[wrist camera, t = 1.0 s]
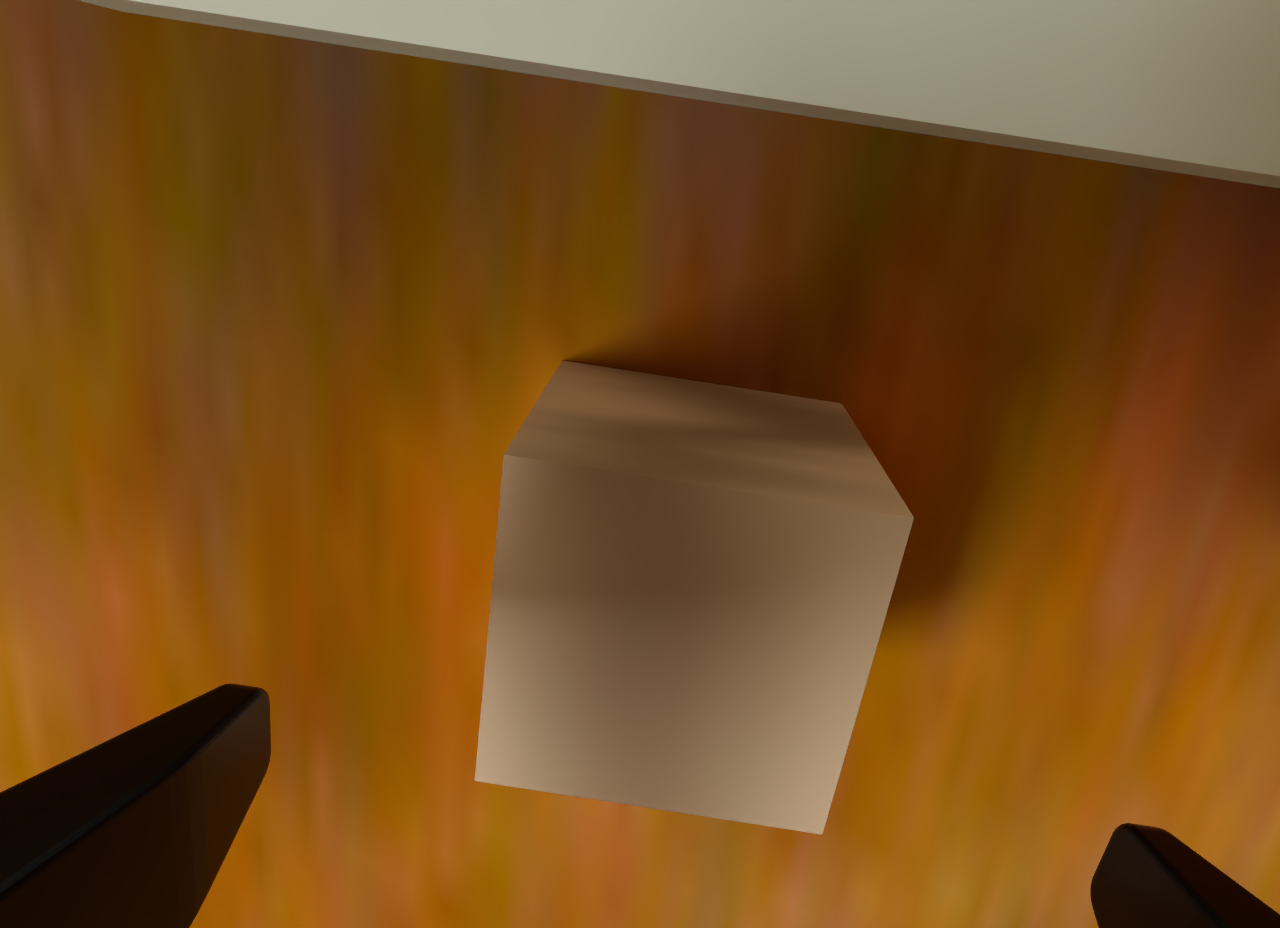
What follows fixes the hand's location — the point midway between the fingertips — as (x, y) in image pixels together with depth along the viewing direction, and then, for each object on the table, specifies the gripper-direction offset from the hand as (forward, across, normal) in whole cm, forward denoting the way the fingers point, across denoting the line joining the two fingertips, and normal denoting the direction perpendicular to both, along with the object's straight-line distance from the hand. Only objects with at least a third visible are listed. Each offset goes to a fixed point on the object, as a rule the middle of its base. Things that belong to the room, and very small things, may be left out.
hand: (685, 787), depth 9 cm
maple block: (+7, 0, 0) cm, 7 cm away
